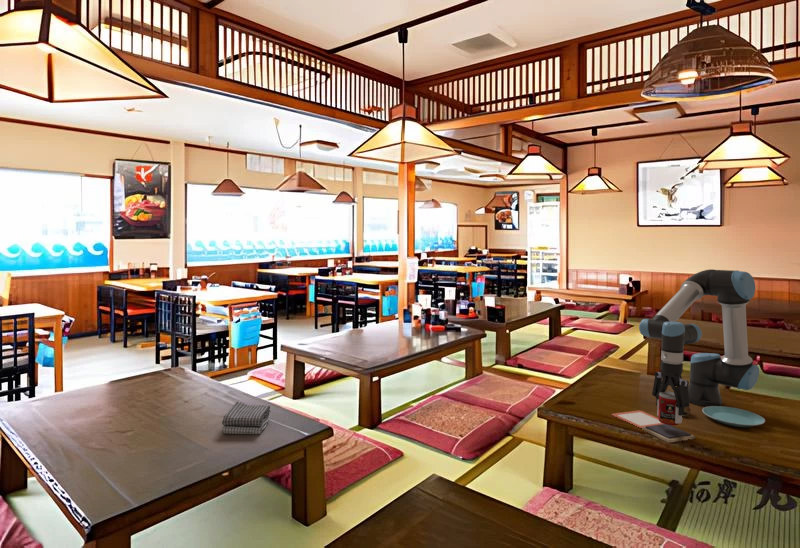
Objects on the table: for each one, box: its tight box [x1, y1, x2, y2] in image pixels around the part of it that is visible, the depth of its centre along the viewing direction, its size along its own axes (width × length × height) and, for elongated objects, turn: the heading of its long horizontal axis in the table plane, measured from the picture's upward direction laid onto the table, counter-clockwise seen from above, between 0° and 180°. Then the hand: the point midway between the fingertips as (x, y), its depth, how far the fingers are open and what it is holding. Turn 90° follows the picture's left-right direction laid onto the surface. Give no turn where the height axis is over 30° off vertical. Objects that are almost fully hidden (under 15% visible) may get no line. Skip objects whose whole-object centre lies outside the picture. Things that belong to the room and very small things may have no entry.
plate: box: [701, 405, 766, 428], centre depth 207 cm, size 22×22×3 cm
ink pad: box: [641, 424, 696, 444], centre depth 191 cm, size 13×13×2 cm
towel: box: [221, 401, 271, 435], centre depth 191 cm, size 15×18×8 cm
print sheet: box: [610, 409, 663, 429], centre depth 206 cm, size 16×16×1 cm
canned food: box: [657, 390, 681, 426], centre depth 191 cm, size 8×8×11 cm
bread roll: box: [683, 406, 691, 417], centre depth 216 cm, size 10×10×8 cm
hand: (669, 418), depth 191 cm, fingers closed on canned food, 8 cm apart
